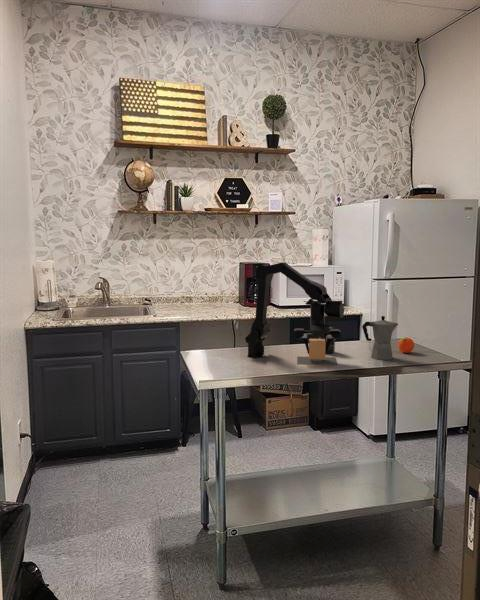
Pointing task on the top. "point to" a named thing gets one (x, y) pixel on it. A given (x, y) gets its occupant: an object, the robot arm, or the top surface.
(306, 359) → the dark gray mat
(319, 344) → the rounded wooden cube
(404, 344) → the clementine
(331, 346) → the supplement bottle
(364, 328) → the coffeepot
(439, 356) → the top surface
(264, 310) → the robot arm
